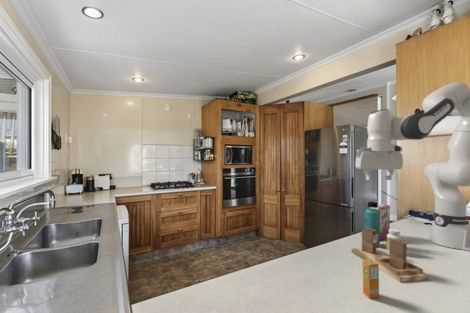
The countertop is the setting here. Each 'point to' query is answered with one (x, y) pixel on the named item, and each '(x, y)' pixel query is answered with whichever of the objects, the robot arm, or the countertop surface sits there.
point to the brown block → (397, 254)
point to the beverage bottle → (373, 219)
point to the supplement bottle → (393, 236)
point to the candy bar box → (384, 219)
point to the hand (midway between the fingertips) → (378, 180)
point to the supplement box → (371, 279)
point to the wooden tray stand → (386, 259)
